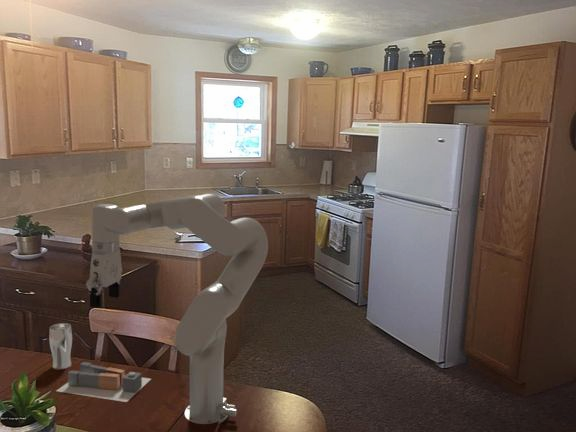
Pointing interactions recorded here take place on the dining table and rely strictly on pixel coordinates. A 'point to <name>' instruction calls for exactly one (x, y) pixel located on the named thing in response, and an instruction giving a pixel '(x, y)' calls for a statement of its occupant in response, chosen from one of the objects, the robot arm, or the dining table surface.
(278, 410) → the dining table surface
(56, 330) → the beer glass
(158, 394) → the dining table surface
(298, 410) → the dining table surface
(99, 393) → the white board with blocks
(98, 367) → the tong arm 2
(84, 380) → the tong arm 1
